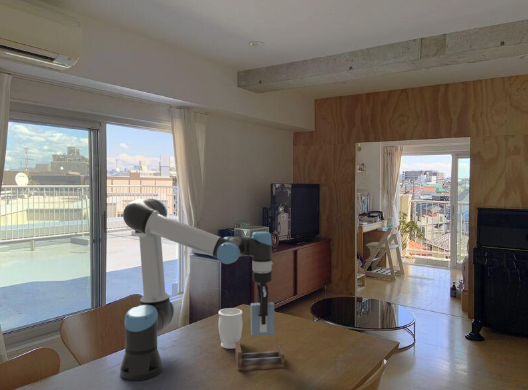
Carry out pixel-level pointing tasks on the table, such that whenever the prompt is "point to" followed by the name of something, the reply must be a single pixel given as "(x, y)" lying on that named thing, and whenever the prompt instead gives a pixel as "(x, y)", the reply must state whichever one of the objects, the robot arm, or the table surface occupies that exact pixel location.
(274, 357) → the wooden rod frame
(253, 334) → the blue-gray rectangular block
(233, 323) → the jar
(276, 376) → the table surface
